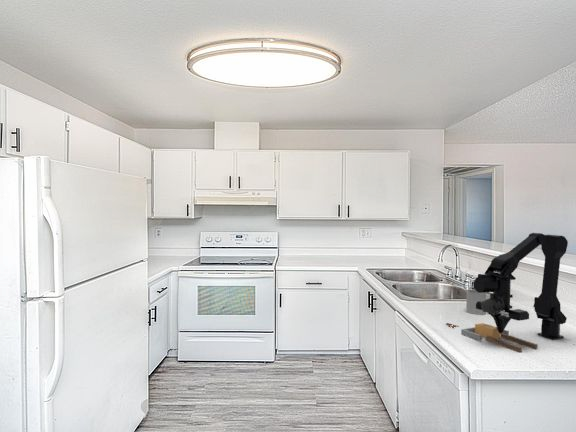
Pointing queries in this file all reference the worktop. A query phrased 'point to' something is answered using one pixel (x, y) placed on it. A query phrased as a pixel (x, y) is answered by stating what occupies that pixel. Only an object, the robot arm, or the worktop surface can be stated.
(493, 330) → the block
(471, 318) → the worktop surface
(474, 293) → the cup
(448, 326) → the hand saw
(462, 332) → the tray
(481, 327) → the block
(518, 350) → the slot guide
